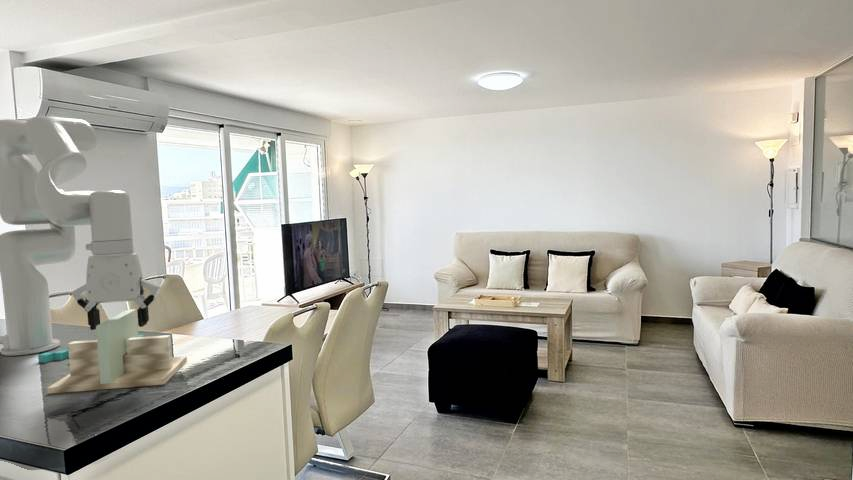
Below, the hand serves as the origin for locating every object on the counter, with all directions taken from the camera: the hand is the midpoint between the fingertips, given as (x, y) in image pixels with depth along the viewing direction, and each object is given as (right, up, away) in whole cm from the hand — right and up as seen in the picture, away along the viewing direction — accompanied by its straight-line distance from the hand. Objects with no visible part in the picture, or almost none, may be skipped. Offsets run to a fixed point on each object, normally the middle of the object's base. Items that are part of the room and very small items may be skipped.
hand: (119, 326), depth 114 cm
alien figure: (-16, -10, +21) cm, 28 cm away
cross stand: (0, -11, +1) cm, 11 cm away
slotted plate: (0, -10, 0) cm, 10 cm away
